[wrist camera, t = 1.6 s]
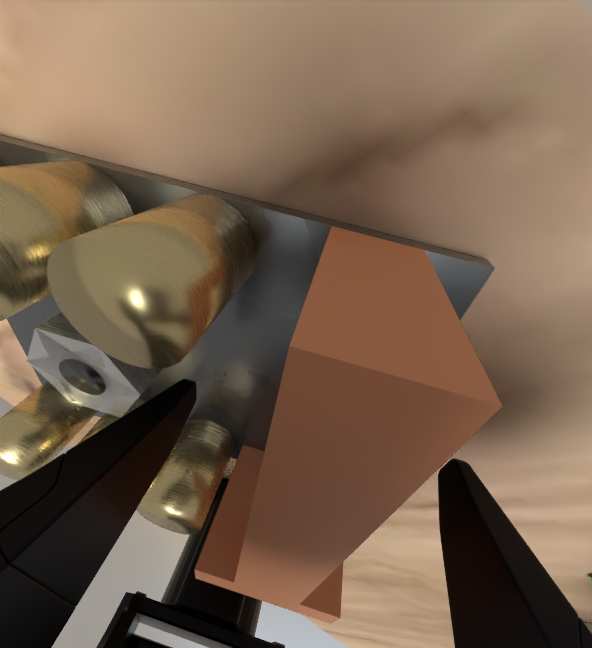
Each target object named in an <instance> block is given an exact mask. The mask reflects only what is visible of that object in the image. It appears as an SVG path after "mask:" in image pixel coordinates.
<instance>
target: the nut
mask: <svg viewBox="0 0 592 648" xmlns="http://www.w3.org/2000/svg"><path fill="white" fill-rule="evenodd" d="M27 362H29V363H30V364H31V365H32V366H33V367H34V368H35V369H36V370H37V371H38V372H39V373H40V374H41V375H42V376H43V377H44V378H45V379H46V380H47V381H49V382H50V383H51V384H52V385H53V386H54V387H55V388H56V389H57V390H58V391H59V392H60V393H61V394H62V395H63V396H64V397H65V398H66V399H67V400H69V401H70V402H72V403H75V404H78V405H81V406H85V407H88V408H91V409H94V410H98V411H101V412H104V413H107V414H111V415H114V416H117V417H120V418H121V417H122V416H123V415H124V414H125V413H126V412H127V410H128V409H129V408H130V407H131V406H132V405H133V403H134V402H135V401H136V400H137V399H138V398H139V396H140V395H141V394H142V393H143V392H144V390H145V389H146V388H147V387H148V386H149V385H150V383H151V382H152V381H153V380H154V379H155V377H156V376H157V375H158V374H159V373H160V372H161V370H162V369H163V368H162V369H148V368H141V367H137V366H133V365H130V364H127V363H125V362H122V361H120V360H118V359H116V358H114V357H112V356H110V355H108V354H106V353H105V352H103V351H101V350H100V349H99V348H97V347H96V346H94V345H93V344H92V343H90V342H89V341H88V340H87V339H85V338H84V337H83V336H82V335H81V334H80V333H79V332H78V331H77V330H76V329H75V328H74V327H73V326H72V325H71V323H70V322H69V321H68V320H67V318H66V317H65V316H64V314H63V313H62V312H61V313H59V314H58V315H56V316H54V317H52V318H51V319H49V320H47V321H46V322H44V323H42V324H41V325H39V326H37V327H36V328H35V330H34V334H33V338H32V342H31V346H30V350H29V353H28V357H27Z"/></svg>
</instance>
